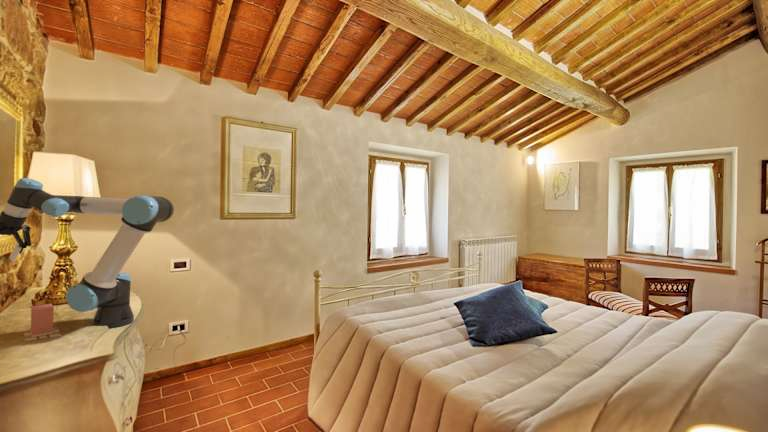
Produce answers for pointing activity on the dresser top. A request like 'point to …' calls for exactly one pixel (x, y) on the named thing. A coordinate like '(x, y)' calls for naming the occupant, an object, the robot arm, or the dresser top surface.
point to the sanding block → (42, 320)
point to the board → (41, 337)
